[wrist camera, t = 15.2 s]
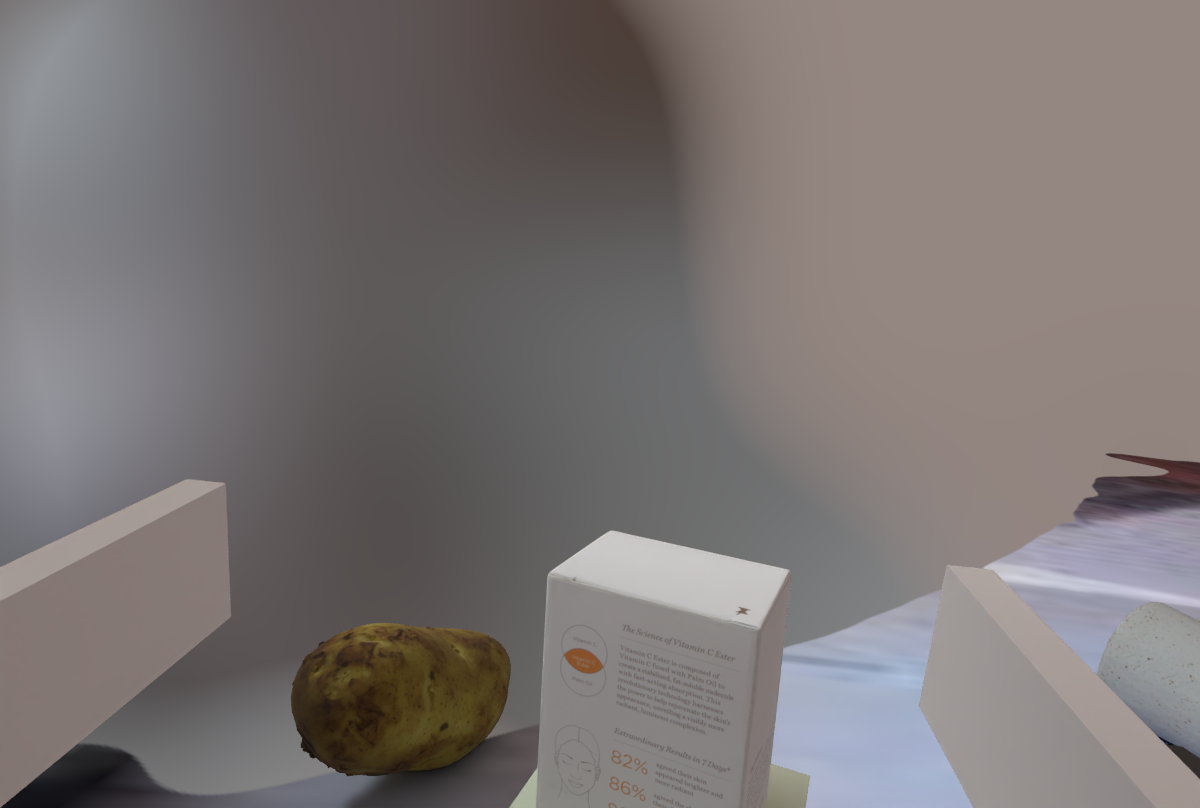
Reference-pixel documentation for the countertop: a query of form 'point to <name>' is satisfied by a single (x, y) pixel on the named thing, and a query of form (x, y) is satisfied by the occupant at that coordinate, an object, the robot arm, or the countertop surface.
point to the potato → (399, 697)
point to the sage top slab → (782, 792)
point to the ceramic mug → (1158, 671)
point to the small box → (659, 677)
